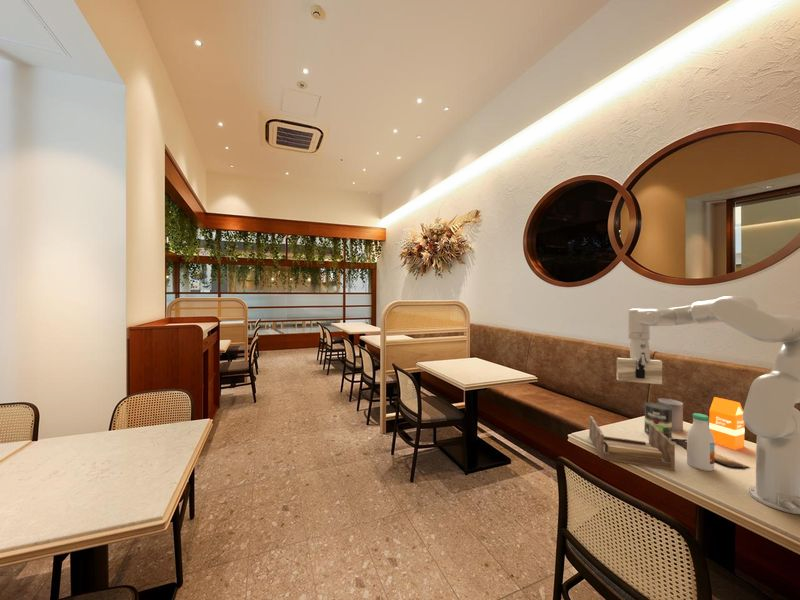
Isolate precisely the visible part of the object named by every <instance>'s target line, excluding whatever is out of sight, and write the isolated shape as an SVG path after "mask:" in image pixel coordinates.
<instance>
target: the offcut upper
mask: <svg viewBox="0 0 800 600" xmlns="http://www.w3.org/2000/svg"><path fill="white" fill-rule="evenodd" d="M605 447H606V448H607V450H608V451H611V452H618V453H626V454H633V455H640V456H648V457H655V458H662V453H661V452H660V451H659V450H658V449H657V448H652V447H645V446H637V445H629V444H621V443H613V442H606V441H605Z"/></svg>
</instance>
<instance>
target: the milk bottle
mask: <svg viewBox="0 0 800 600" xmlns="http://www.w3.org/2000/svg"><path fill="white" fill-rule="evenodd" d="M686 440H687V441H686V442H687V449H686V462H687V465H689V466H690V467H692V468H695V469H698V470H701V471H705V472H712V471H714V470H715V460H714V455H715V452H716V451H715V443H714V437H713V434H712V432H711V430H710V428H709V416H708V415H707V414H705V413H704V414H703V413H695V412H694V413H692V424H691V425H690V427H689V429H688V430H687V435H686Z"/></svg>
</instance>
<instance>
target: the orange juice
mask: <svg viewBox="0 0 800 600" xmlns="http://www.w3.org/2000/svg"><path fill="white" fill-rule="evenodd" d="M743 411H744V409H743V408H742V405H741V403H740V402H738V401H734V400H730V399H726V398H720V397H717V396H714V397H713V400H712V403H711V404H710V408H709V423H708V425H709V428H710V430H711V432H712V434H713V437H714V444H717V445H721V446H724V447H725V448H729V449H732V450H739V449H742V448H745V433H746V432H745V431H746V430H745V424H744V422H743Z"/></svg>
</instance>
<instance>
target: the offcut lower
mask: <svg viewBox="0 0 800 600" xmlns="http://www.w3.org/2000/svg"><path fill="white" fill-rule="evenodd" d="M605 451H606V453H612V454H618V455H625V456H631V457H638V458H644V459H651V460H657V461H662V458H655V457H648V456H640V455H633V454H626V453H618V452H611V451H608V450H607V448H606V447H605Z"/></svg>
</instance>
